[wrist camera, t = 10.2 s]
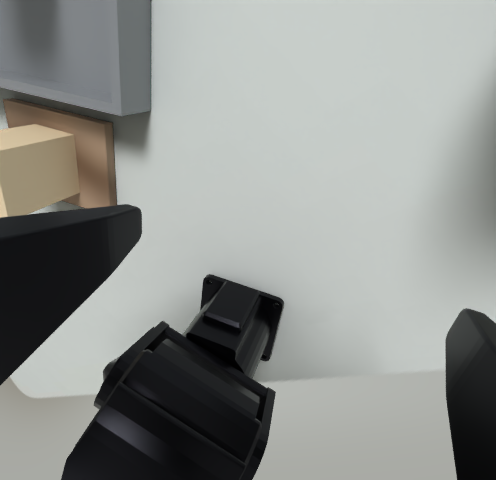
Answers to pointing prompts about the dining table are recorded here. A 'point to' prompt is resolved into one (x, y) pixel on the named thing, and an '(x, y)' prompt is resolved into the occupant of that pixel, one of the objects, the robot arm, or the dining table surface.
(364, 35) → the dining table surface
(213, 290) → the robot arm
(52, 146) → the carton tan
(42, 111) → the board
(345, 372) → the dining table surface
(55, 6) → the bin
